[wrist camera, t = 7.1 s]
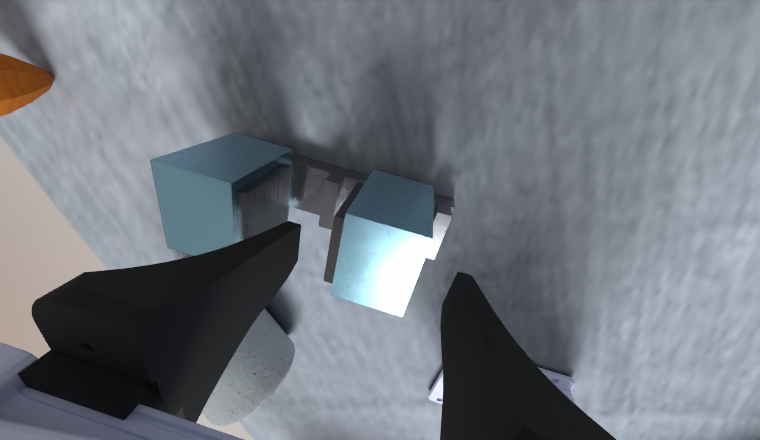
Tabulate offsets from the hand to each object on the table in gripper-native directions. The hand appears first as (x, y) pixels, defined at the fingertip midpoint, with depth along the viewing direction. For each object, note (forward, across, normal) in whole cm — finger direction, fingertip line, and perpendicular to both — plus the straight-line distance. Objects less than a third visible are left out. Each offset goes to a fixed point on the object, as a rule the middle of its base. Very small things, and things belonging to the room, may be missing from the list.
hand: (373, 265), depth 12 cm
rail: (+6, +3, 0) cm, 7 cm away
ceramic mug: (+6, +10, +15) cm, 20 cm away
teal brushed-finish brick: (+5, 0, 0) cm, 5 cm away
